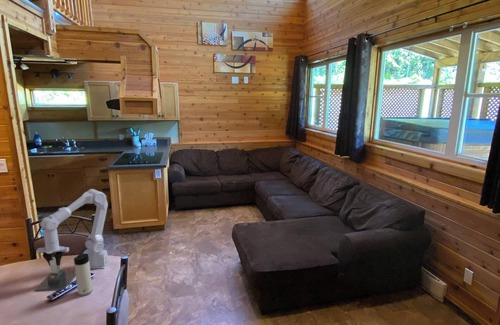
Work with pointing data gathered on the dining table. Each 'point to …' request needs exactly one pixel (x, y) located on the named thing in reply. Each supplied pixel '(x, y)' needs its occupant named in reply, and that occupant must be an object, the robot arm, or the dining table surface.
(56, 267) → the column
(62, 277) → the stand base
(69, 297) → the dining table surface
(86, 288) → the travel mug
